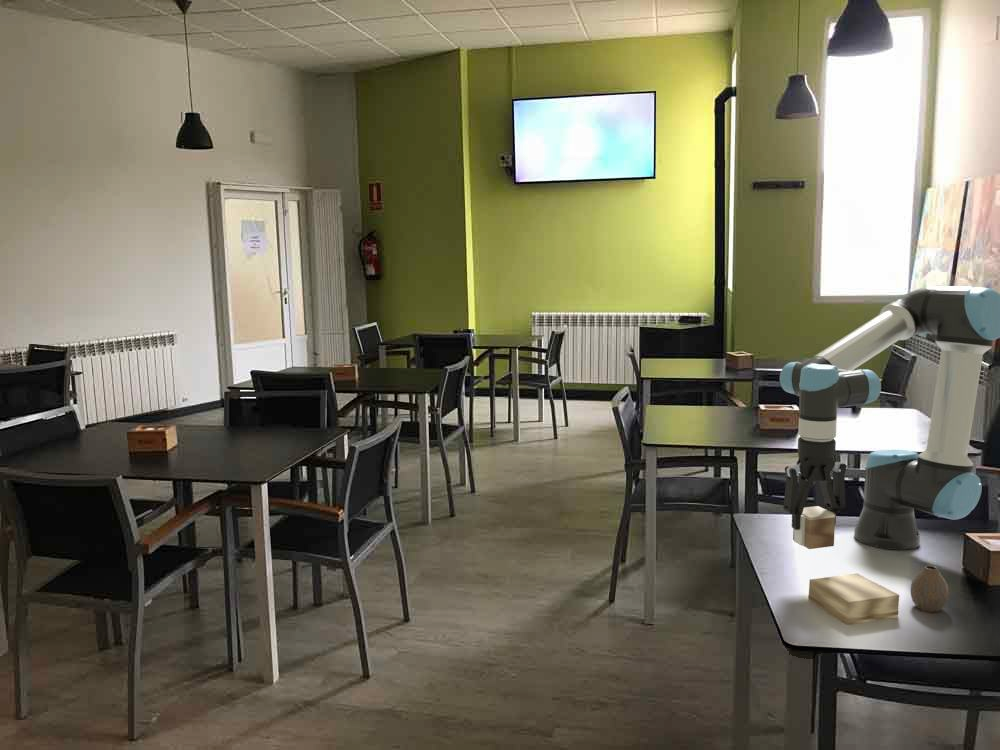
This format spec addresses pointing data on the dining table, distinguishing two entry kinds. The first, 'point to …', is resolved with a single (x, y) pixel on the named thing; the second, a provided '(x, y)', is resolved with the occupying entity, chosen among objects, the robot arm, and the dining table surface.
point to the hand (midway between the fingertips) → (813, 541)
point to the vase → (929, 590)
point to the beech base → (853, 598)
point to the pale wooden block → (818, 527)
